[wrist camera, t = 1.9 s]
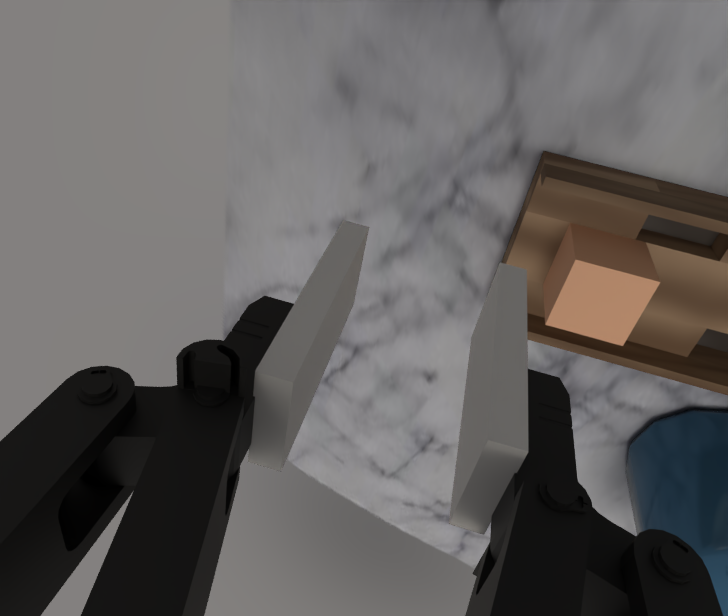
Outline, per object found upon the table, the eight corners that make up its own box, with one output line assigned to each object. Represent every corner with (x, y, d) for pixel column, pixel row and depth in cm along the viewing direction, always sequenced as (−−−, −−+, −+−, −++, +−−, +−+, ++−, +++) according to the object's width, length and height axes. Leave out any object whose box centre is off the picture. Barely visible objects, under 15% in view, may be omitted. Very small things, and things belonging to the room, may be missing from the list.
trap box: (543, 150, 41) (546, 182, 37) (975, 259, 39) (1038, 308, 34) (489, 294, 49) (486, 335, 44) (847, 392, 47) (884, 446, 42)
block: (570, 222, 41) (575, 259, 37) (645, 242, 41) (660, 282, 37) (543, 284, 45) (545, 324, 40) (612, 302, 44) (622, 346, 40)
